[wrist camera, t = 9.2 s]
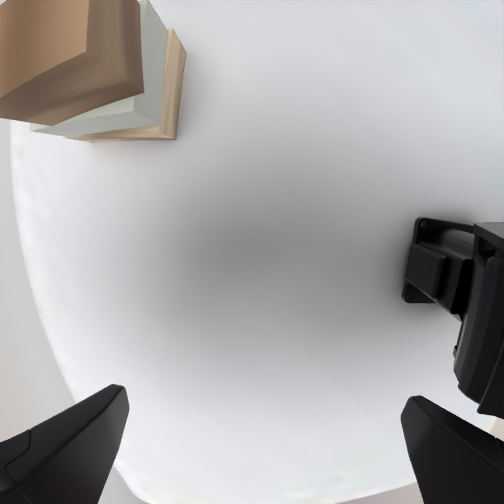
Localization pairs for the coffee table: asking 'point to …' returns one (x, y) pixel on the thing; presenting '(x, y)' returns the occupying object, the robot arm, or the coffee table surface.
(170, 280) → the coffee table surface
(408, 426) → the robot arm
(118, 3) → the walnut block
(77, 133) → the tower top
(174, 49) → the tower base
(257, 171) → the coffee table surface
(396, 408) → the coffee table surface
